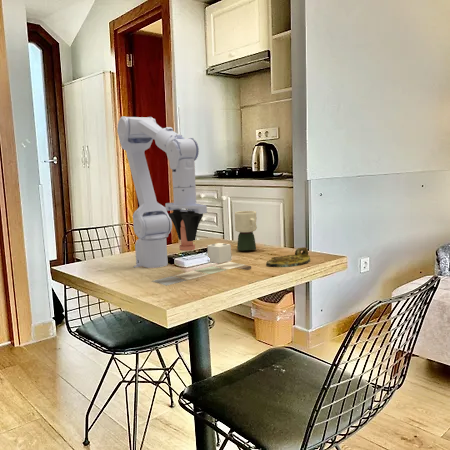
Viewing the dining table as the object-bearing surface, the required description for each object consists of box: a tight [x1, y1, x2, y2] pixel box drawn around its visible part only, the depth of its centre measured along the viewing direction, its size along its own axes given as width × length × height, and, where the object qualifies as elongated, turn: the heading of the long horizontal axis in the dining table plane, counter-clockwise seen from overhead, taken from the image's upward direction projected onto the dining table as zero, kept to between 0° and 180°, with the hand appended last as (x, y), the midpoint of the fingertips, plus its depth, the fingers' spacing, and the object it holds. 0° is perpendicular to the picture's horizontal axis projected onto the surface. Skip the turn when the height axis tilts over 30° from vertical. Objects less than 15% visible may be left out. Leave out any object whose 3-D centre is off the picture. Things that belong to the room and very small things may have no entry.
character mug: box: [234, 210, 258, 252], centre depth 157 cm, size 11×7×13 cm, turn 28°
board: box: [151, 261, 252, 287], centre depth 126 cm, size 10×28×1 cm, turn 134°
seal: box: [265, 246, 311, 268], centre depth 138 cm, size 9×5×15 cm
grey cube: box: [206, 242, 232, 264], centre depth 144 cm, size 5×5×5 cm
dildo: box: [179, 220, 196, 252], centre depth 122 cm, size 4×4×8 cm
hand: (187, 239), depth 122 cm, fingers closed on dildo, 3 cm apart
